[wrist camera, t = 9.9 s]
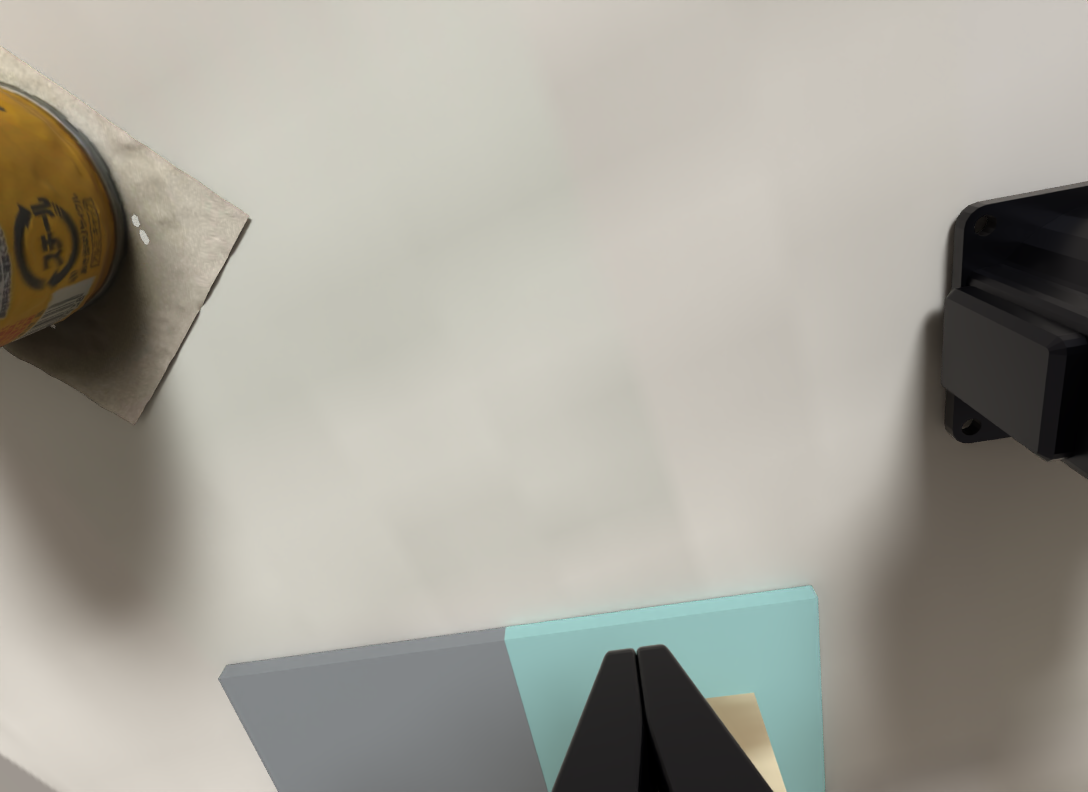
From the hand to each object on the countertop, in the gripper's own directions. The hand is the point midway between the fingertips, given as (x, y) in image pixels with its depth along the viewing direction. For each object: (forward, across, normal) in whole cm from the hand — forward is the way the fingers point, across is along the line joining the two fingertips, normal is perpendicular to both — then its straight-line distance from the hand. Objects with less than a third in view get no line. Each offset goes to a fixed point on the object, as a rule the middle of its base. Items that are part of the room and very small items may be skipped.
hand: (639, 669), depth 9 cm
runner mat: (+10, +4, +14) cm, 18 cm away
